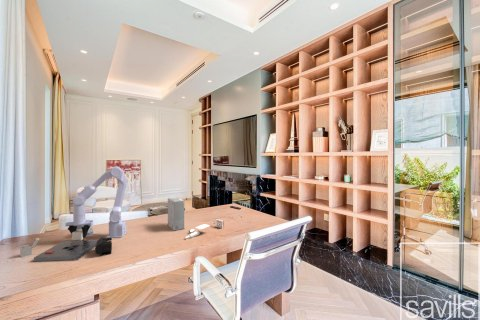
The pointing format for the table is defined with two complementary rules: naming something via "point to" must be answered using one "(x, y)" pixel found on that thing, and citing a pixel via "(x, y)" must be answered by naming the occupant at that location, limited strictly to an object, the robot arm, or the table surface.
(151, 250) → the table surface
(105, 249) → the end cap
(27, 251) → the grey angled bar block
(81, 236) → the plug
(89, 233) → the medicine box
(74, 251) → the socket
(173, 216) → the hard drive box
